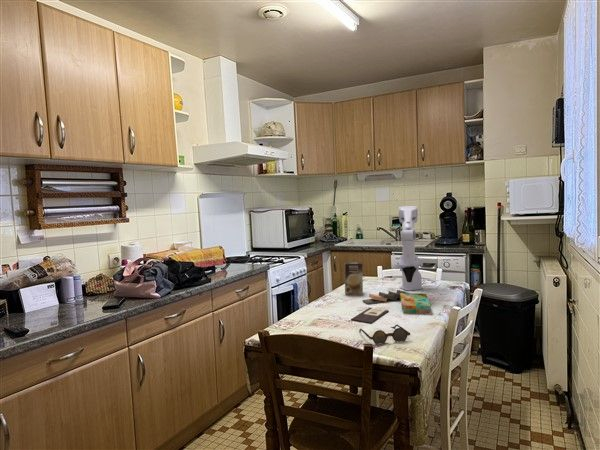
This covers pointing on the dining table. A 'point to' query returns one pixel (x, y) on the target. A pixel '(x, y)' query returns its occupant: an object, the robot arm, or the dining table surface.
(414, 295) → the puzzle game
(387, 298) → the domino
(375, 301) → the domino
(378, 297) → the domino
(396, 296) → the domino
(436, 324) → the dining table surface
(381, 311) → the chocolate bar
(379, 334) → the eyeglasses
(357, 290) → the coffee box
